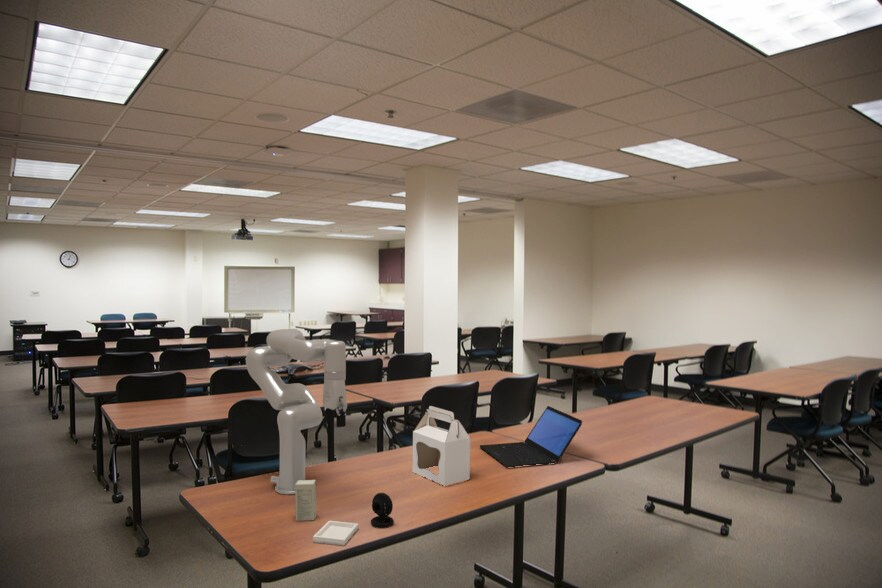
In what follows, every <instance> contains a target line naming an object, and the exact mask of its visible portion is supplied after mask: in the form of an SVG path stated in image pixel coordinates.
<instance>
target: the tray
mask: <svg viewBox="0 0 882 588" xmlns="http://www.w3.org/2000/svg"><path fill="white" fill-rule="evenodd" d="M358 530H359V523H357V522H356V523H355V522H347V521H346V522H345V521H336V520H328V521H327V522H326V523H325V524H324V525H322V527H321V528H319V530H318V531H316V533H315V534H314V535H313V536H312V543H313V542H315V544H322V543H325V544H324V545H331V544H332V545H333V546H340V545H343V546H342V547H345V546H346V545H345V544H348V542H349V541H350V540H351V539H352V537H353V536H354V535H355V534H356V533H357V531H358ZM355 532H356V533H355ZM354 533H355V534H354ZM353 534H354V535H353ZM350 538H351V539H350ZM349 539H350V540H349ZM348 540H349V541H348ZM344 545H345V546H344Z"/></svg>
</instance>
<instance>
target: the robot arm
mask: <svg viewBox="0 0 882 588" xmlns="http://www.w3.org/2000/svg"><path fill="white" fill-rule="evenodd" d="M346 353H347V348H346V343H345V342H344V341H343V340H333V339H327V338H324V339H322V338H321V339H310V340H306V338H305V336H304V334H303V333H302V331H301V330H299V329H297V328H287V329H286V328H285V329H283V328H282V329H275V330H272V331H271V332H269V333H268V335H267V336H266V345H265V346H256V347H253V348H252V349H250V350H249V351H248V352H247V353H246V356H245V365H246V369H247V372H248V374H249V376H250V377H251V379H253V381H254V382H255V383H256V384H257V385H258V386H259V388H260V390H261V391H262V393H263V395H264V396H265V399H267V401H268V403H269V404H270V406H271V407H272V408H273V409H274V410H276V411H279V412H278V414H277V416H276V417H277V419H276V421H277V422H276V423H277V426H278V432H279V433H278V434H279V474H278V476H276V475H271V476H270V483H272V484H276V485H275V487H274V491H275V492H276V493H277V494H281V495H295V484H296V482H297V481H298V480H306V450H307V448H306V445H307V444H306V439H305V436H303V434H302V432H301V430H306V429H310V428H311V429H312V428H314V427H317V426H319V425H320V424H321V422H322V420H323V412H322V408H321V407H320V405H319V404H318V402H317V400H316V399H315V397H314V396H313V395H312V393H311V391H310V390H309V388H308V387H307V386H306V385H305V384H302V383H299V382H297V383H295V382H294V383H285V381H284V380H282V378H281V376H280V375H279V374H278V372H276V371H275V370H273V369H270V368H272V367H273V368H274V367H281V366H285V365H288V364H289V363H290V362H291V360H296V361H300V362H309V363H310V362H317V361H323V369H324V370H323V373H324V374H323V375H324V377H323V381H324V382H323V388H322V405H323V407H324V408H323V410H324V422H325V423H331V422H334V416H335V415H334V414H335V413H334V410H335V411H336V414H337V415H336V416H335V417H336V418H335V419H336V426H335V427H336V428H342V427H343V428H344V427H346V420H347V419H346V416H347V411H348V410H347V409H348V403H347V391H346V378H347V377H346V376H347V374H346V373H347V370H346V369H347V365H346V363H347V361H346V360H347V359H346V358H347V357H346V355H347V354H346Z"/></svg>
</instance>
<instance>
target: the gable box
mask: <svg viewBox="0 0 882 588" xmlns="http://www.w3.org/2000/svg"><path fill="white" fill-rule="evenodd" d="M435 419H436V420H440V421H443V422H447V423H450V425H449V428H448V429H446V428H441V427H438V425H437V422H436V420H435ZM433 466H438V470H439V473H438V475H435V474H434V473H432V472H431V471H430V470H428V469H426V468H429V467H433ZM470 467H471V437H470V436H469V434H468V432H467V430H466V429H465V428H464V426H463V424H462V423H461V422H460V420H458V419H456V417H455V412H454V411H450V410H447V409H444V408H442V407H441V408H440V407H437V406H433V405H429V407H428V408H426V411H425V413H424V415H423V416H422V418H421V419H420V421H419V422H418V424H417V425H416V427H415V428H414V430H412V473H413V472H414V473H417V474H419V475H421V476H423V477H426V478H428V479H430V480H433V481H435V482H438V483H440V484H442V485H444V486H445V485H449V484H453V483H457V482H460V481H464V480H468V479H471V473H470V472H471V468H470ZM414 473H413V474H414ZM417 474H416V475H417ZM419 475H418V476H419ZM421 476H420V477H421ZM423 477H422V478H423ZM428 479H427V480H428ZM430 480H429V481H430Z"/></svg>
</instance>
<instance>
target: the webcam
mask: <svg viewBox="0 0 882 588" xmlns="http://www.w3.org/2000/svg"><path fill="white" fill-rule="evenodd" d="M371 507H372V508H371V510H372V511H373V513H374V514H376V515H377V516H375V517H373V518H371V519H370V524H371V526H372V527H374V528H376V527H378V528H377V529H385V527H386V528H390V527H392V526H393V525H394V522H395V521H394V518H393V517H391V516H390V515H391V514H392V512H393V507H394V506H393V501H392V499H391V496H389V494H387V493H384V492H378V493H376V494H375V495H374V496H373V497H372V504H371ZM385 521H387V522H385ZM392 524H393V525H392ZM389 526H390V527H389Z"/></svg>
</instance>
